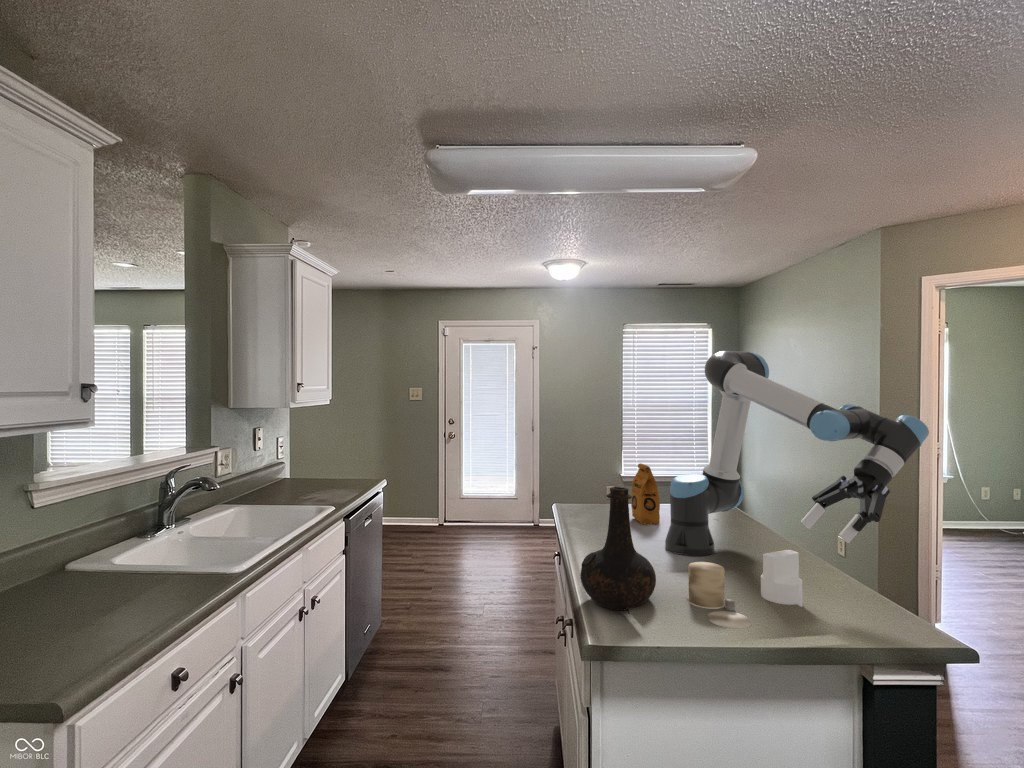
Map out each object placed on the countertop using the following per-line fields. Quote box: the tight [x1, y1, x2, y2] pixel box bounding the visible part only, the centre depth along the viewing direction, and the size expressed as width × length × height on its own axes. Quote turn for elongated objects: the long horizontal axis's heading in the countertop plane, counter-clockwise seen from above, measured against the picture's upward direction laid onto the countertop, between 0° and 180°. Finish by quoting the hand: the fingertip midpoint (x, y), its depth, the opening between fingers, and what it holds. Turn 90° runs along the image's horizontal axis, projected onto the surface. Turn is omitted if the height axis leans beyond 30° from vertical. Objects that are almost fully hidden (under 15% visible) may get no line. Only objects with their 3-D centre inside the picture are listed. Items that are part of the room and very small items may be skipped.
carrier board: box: [686, 595, 753, 629], centre depth 125 cm, size 21×21×3 cm
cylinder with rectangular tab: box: [760, 549, 803, 608], centre depth 132 cm, size 9×9×12 cm
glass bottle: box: [579, 486, 657, 611], centre depth 133 cm, size 18×18×28 cm
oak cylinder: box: [688, 561, 726, 608], centre depth 130 cm, size 8×8×8 cm
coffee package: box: [630, 462, 661, 525], centre depth 214 cm, size 10×12×22 cm
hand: (823, 531), depth 133 cm, fingers open, 13 cm apart
